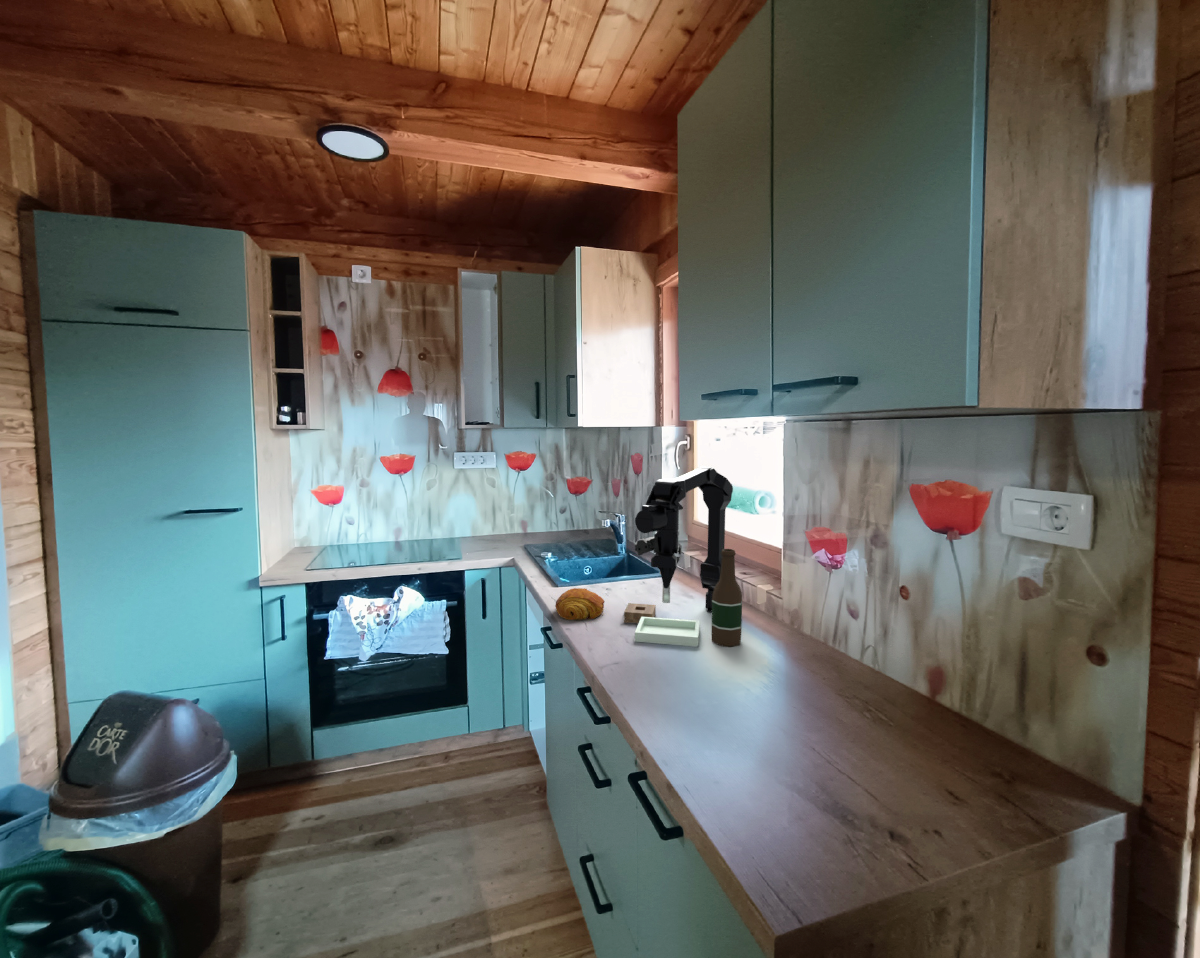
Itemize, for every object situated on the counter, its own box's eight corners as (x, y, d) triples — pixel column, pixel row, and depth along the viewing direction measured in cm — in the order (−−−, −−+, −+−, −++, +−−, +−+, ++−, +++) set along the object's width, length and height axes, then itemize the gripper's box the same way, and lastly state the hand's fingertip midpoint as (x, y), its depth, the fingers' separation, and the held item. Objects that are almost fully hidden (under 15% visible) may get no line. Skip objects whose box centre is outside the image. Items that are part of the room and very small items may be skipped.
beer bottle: (705, 641, 138) (706, 549, 136) (720, 633, 144) (722, 545, 141) (732, 650, 133) (734, 554, 130) (747, 641, 138) (749, 549, 136)
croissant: (549, 626, 155) (547, 600, 153) (566, 602, 170) (564, 578, 168) (598, 629, 151) (596, 603, 150) (610, 605, 166) (609, 580, 164)
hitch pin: (673, 600, 143) (673, 569, 143) (671, 604, 140) (672, 572, 139) (660, 599, 144) (660, 568, 143) (658, 603, 141) (659, 571, 140)
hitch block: (655, 614, 158) (655, 604, 158) (652, 624, 150) (652, 614, 150) (628, 612, 160) (628, 603, 159) (624, 622, 152) (624, 611, 152)
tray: (699, 629, 146) (699, 620, 146) (697, 646, 135) (698, 637, 134) (641, 624, 150) (641, 616, 150) (634, 641, 138) (634, 632, 138)
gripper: (642, 520, 151) (641, 575, 153) (631, 533, 133) (630, 594, 134) (682, 522, 149) (681, 577, 150) (676, 535, 131) (675, 597, 132)
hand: (666, 586), depth 142 cm, fingers closed on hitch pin, 3 cm apart
